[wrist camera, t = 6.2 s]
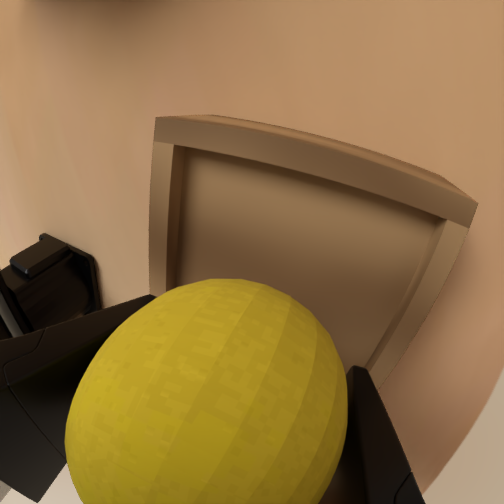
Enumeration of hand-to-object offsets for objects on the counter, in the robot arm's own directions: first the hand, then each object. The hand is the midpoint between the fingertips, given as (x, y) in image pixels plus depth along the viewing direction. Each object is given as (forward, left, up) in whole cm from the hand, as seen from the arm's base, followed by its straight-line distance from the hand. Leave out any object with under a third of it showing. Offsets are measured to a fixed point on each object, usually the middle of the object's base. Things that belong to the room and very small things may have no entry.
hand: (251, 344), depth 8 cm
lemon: (0, 0, -2) cm, 2 cm away
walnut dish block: (0, 0, -7) cm, 7 cm away
